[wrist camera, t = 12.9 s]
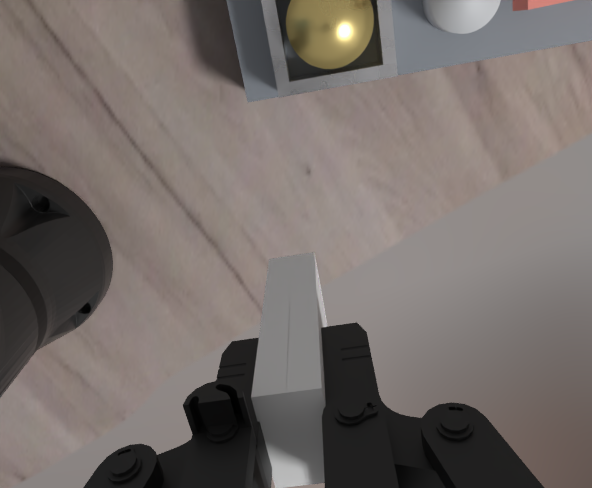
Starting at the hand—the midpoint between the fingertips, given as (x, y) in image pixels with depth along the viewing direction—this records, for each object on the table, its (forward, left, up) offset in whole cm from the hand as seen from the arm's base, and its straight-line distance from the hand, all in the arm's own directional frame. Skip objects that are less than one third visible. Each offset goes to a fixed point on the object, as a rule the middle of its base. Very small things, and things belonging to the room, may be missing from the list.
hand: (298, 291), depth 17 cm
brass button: (+3, +8, -20) cm, 21 cm away
